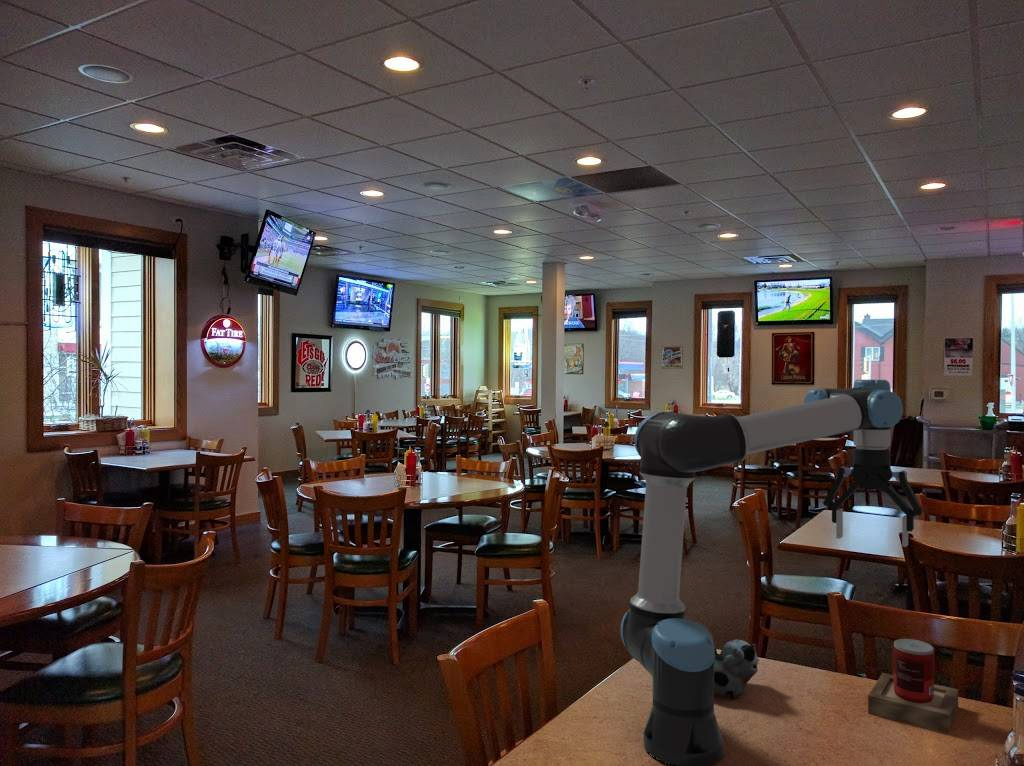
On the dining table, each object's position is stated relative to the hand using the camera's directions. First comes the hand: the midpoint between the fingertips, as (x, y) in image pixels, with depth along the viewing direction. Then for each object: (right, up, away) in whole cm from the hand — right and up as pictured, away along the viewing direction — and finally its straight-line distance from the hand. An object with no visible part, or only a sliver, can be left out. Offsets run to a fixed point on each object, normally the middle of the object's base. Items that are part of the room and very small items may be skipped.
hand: (871, 541), depth 166 cm
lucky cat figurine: (-32, -35, +4) cm, 48 cm away
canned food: (+5, -32, -7) cm, 33 cm away
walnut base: (+5, -35, -7) cm, 36 cm away
